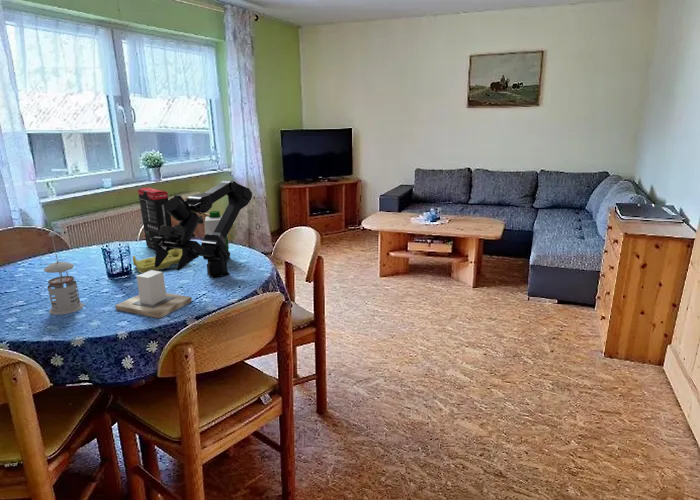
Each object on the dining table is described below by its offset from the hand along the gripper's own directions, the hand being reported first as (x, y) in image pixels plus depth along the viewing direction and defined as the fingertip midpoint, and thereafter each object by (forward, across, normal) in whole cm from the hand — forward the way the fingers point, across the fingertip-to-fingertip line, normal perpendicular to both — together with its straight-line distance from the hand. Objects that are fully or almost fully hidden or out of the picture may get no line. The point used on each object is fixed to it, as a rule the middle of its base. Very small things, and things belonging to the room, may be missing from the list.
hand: (166, 268), depth 153 cm
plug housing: (+11, 0, +1) cm, 11 cm away
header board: (+12, 0, +2) cm, 12 cm away
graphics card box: (-24, -49, +40) cm, 67 cm away
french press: (+20, -25, -6) cm, 33 cm away
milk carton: (-21, -12, +36) cm, 44 cm away
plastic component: (-10, -28, +25) cm, 39 cm away
